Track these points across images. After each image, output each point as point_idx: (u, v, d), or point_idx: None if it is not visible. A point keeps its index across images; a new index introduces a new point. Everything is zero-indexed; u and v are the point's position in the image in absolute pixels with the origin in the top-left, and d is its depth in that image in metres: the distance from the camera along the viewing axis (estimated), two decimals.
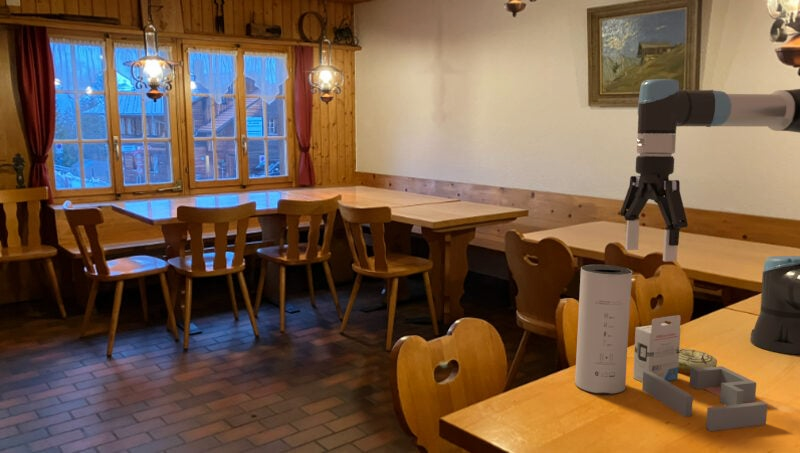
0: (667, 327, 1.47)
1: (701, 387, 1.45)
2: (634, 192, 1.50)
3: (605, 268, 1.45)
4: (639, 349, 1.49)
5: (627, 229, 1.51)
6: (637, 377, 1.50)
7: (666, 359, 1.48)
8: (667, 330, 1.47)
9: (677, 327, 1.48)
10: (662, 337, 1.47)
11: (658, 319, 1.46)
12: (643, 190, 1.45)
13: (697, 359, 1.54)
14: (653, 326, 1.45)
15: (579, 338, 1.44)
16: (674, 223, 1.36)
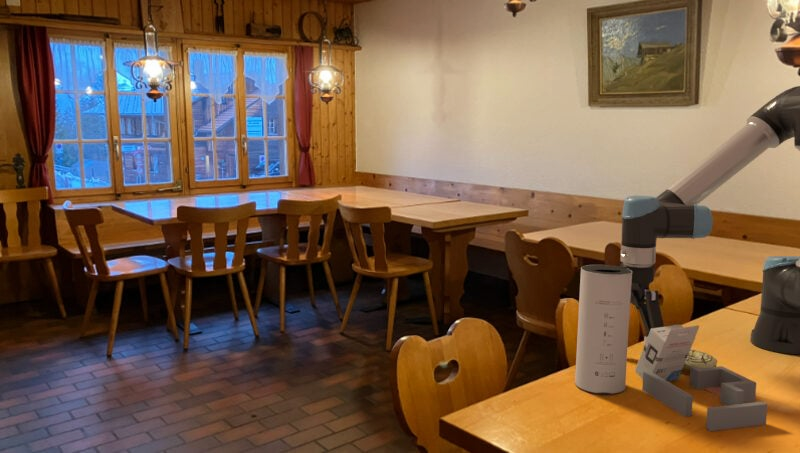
0: (682, 336, 1.43)
1: (701, 387, 1.45)
2: None
3: (605, 268, 1.45)
4: (648, 350, 1.46)
5: None
6: (639, 373, 1.49)
7: (673, 363, 1.46)
8: (682, 339, 1.44)
9: (692, 336, 1.44)
10: (675, 345, 1.44)
11: (676, 330, 1.41)
12: None
13: (697, 359, 1.54)
14: (669, 336, 1.41)
15: (579, 338, 1.44)
16: None
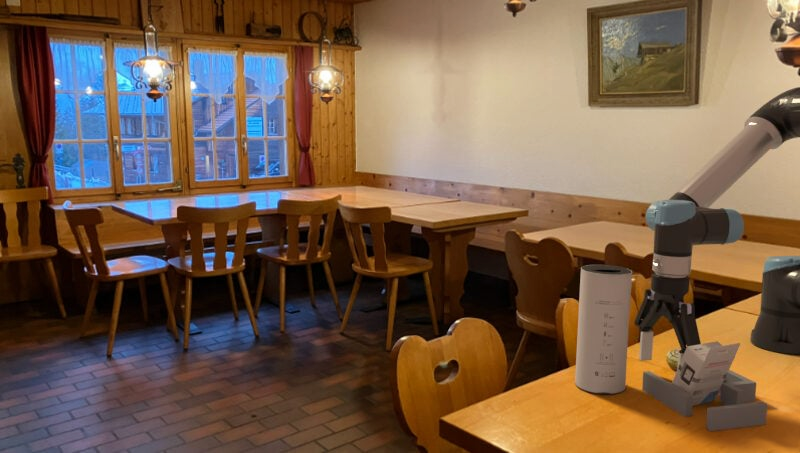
0: (722, 355, 1.31)
1: None
2: (649, 305, 1.51)
3: (605, 268, 1.45)
4: (684, 370, 1.34)
5: (641, 340, 1.53)
6: None
7: (710, 384, 1.35)
8: (721, 358, 1.32)
9: (732, 354, 1.33)
10: (714, 364, 1.32)
11: (716, 348, 1.29)
12: (658, 307, 1.46)
13: None
14: (709, 355, 1.29)
15: (579, 338, 1.44)
16: None
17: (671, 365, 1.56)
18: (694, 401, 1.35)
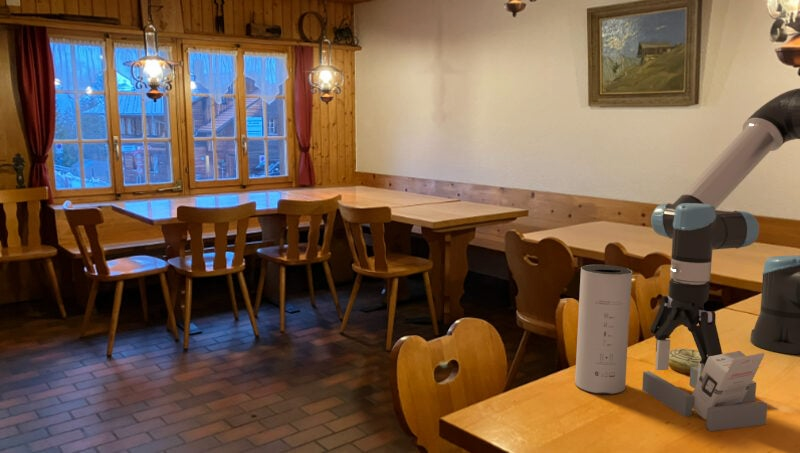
0: (746, 366, 1.25)
1: None
2: (665, 312, 1.45)
3: (605, 268, 1.45)
4: (705, 381, 1.29)
5: (658, 349, 1.47)
6: (693, 406, 1.32)
7: (733, 395, 1.29)
8: (745, 369, 1.26)
9: (756, 365, 1.27)
10: (737, 375, 1.26)
11: (740, 359, 1.24)
12: (676, 315, 1.40)
13: (697, 359, 1.54)
14: (732, 366, 1.24)
15: (579, 338, 1.44)
16: None
17: (671, 365, 1.56)
18: None
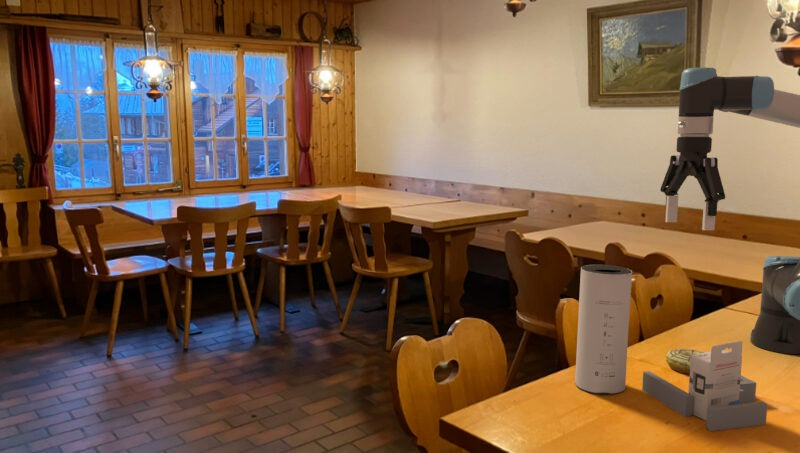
0: (727, 355, 1.29)
1: None
2: (674, 170, 1.67)
3: (605, 268, 1.45)
4: (695, 380, 1.31)
5: (667, 203, 1.68)
6: (692, 411, 1.32)
7: (726, 391, 1.30)
8: (728, 359, 1.29)
9: (739, 355, 1.30)
10: (722, 366, 1.29)
11: (718, 346, 1.28)
12: (683, 168, 1.62)
13: None
14: (713, 354, 1.27)
15: (579, 338, 1.44)
16: (713, 195, 1.52)
17: (671, 365, 1.56)
18: None
